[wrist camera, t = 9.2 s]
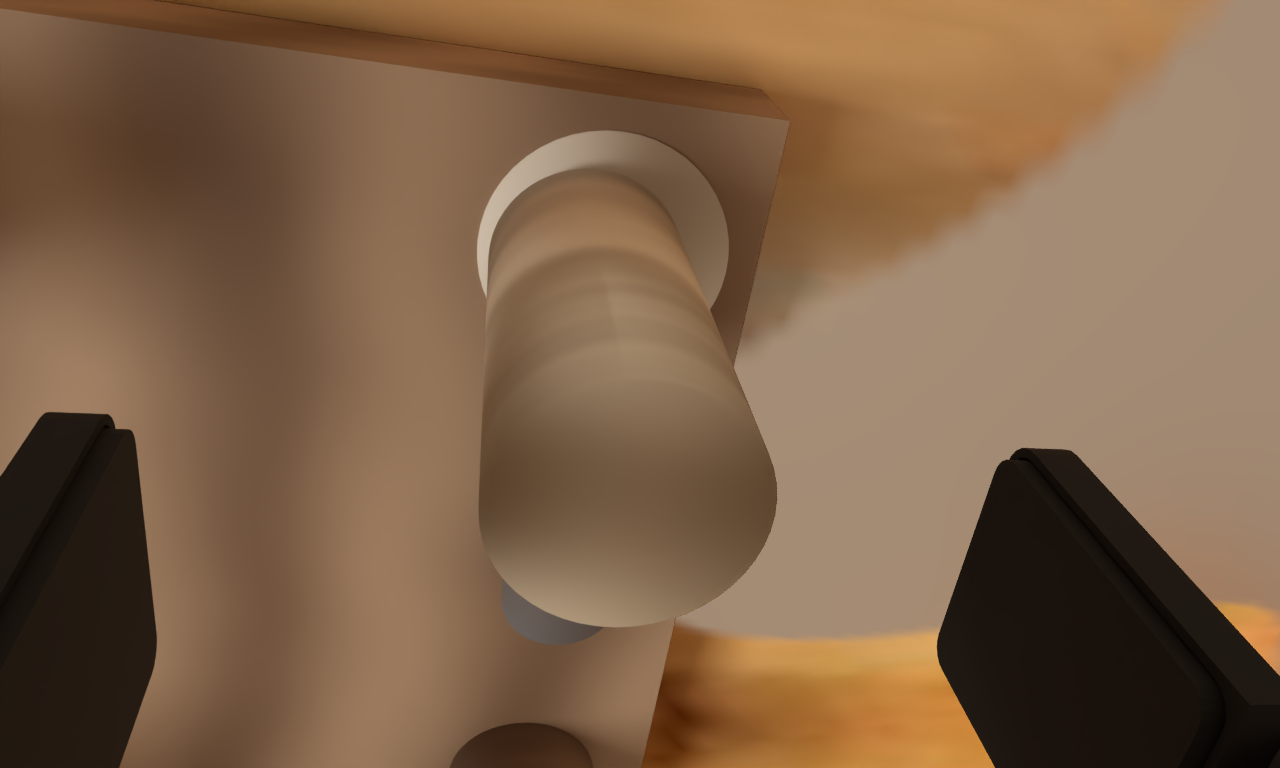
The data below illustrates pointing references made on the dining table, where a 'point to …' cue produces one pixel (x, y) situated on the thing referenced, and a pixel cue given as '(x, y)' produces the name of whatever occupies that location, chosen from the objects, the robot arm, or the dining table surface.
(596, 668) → the stool
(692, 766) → the dining table surface
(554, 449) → the hinged leg
